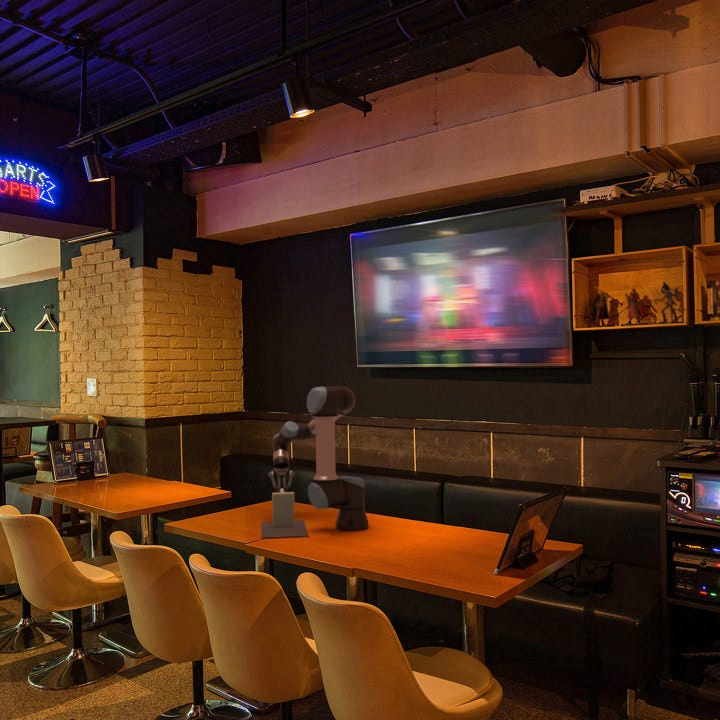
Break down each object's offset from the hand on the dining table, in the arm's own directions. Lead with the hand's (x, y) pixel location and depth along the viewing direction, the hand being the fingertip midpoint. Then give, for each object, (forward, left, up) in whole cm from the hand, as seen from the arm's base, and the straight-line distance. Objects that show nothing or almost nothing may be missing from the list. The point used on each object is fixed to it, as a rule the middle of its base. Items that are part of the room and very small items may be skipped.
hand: (282, 501), depth 316 cm
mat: (-8, +4, -11) cm, 14 cm away
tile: (-4, +2, -10) cm, 11 cm away
